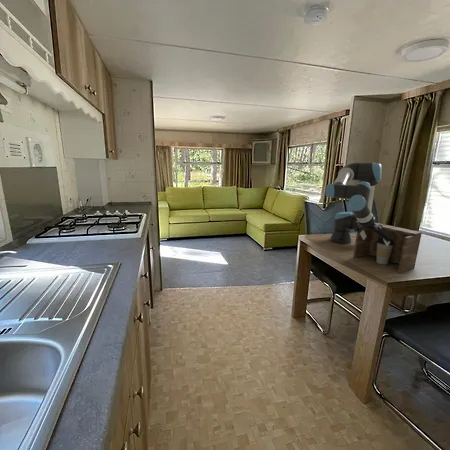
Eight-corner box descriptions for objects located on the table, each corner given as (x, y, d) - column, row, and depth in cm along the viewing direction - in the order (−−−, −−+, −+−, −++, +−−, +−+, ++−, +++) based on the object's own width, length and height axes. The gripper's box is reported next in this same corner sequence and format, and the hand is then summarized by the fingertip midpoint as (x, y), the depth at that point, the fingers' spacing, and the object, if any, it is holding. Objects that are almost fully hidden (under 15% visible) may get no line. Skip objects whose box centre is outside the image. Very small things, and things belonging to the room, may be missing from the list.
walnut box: (353, 257, 166) (358, 224, 160) (367, 253, 174) (372, 222, 168) (400, 273, 142) (407, 235, 137) (414, 268, 150) (421, 232, 145)
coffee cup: (382, 266, 152) (386, 242, 148) (369, 260, 161) (373, 238, 157) (394, 265, 154) (398, 241, 151) (381, 259, 163) (385, 237, 160)
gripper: (340, 218, 147) (352, 240, 158) (385, 228, 126) (395, 252, 137) (347, 209, 148) (359, 231, 159) (392, 217, 127) (402, 241, 138)
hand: (376, 240), depth 148 cm, fingers open, 13 cm apart
